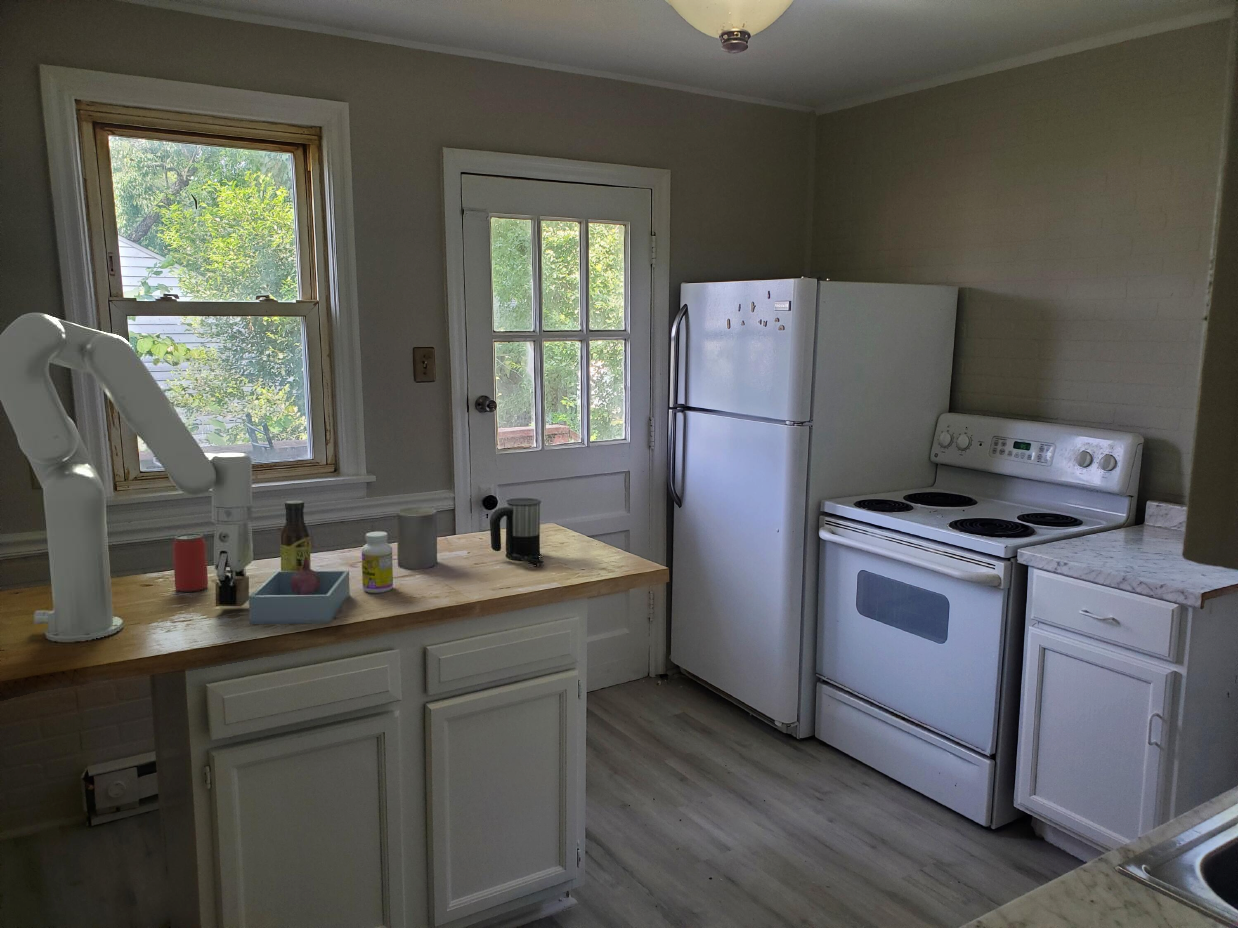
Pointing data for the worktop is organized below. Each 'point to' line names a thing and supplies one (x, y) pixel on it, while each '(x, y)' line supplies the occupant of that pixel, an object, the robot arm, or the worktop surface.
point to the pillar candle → (416, 537)
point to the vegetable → (305, 580)
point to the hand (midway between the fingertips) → (232, 599)
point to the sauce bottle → (294, 538)
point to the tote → (298, 599)
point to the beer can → (190, 562)
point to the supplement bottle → (377, 563)
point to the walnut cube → (237, 591)
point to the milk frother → (518, 529)
